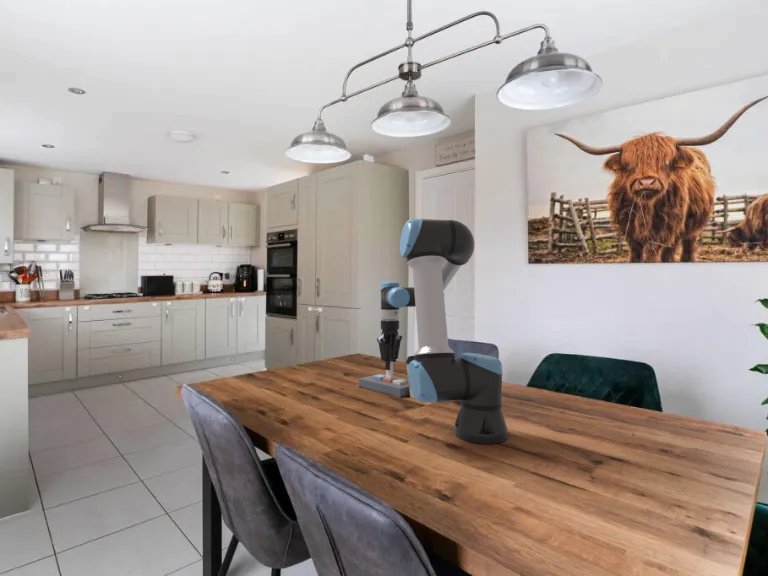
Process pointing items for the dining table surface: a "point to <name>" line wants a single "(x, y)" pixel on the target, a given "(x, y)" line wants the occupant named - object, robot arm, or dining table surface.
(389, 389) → the console
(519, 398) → the dining table surface
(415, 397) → the coffee cup
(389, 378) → the key red
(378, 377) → the key blue
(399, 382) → the key ivory
